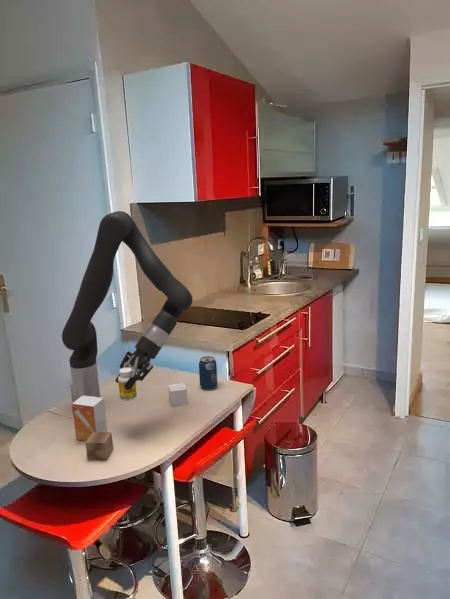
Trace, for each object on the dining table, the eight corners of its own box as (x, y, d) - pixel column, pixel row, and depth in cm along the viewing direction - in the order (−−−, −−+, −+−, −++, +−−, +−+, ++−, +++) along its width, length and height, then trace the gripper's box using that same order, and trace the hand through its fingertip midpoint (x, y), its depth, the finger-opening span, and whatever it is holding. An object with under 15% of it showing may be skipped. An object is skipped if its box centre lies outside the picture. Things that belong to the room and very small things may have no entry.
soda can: (217, 390, 187) (215, 361, 184) (199, 391, 187) (197, 362, 184) (217, 383, 194) (216, 355, 191) (200, 383, 194) (199, 355, 191)
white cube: (187, 404, 177) (186, 389, 175) (171, 406, 176) (170, 391, 174) (184, 397, 183) (184, 382, 181) (169, 399, 181) (168, 384, 180)
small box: (75, 440, 155) (71, 403, 152) (86, 430, 161) (82, 394, 158) (97, 443, 153) (93, 406, 149) (108, 433, 159) (104, 397, 155)
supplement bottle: (132, 392, 157) (130, 365, 155) (139, 398, 153) (137, 370, 151) (117, 396, 155) (114, 369, 152) (123, 403, 150) (121, 374, 148)
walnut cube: (87, 460, 144) (85, 442, 142) (94, 449, 150) (92, 432, 148) (106, 460, 143) (104, 443, 142) (113, 449, 149) (111, 432, 147)
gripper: (133, 330, 159) (103, 373, 155) (156, 340, 148) (124, 388, 144) (148, 341, 163) (119, 383, 159) (171, 352, 153) (141, 398, 148)
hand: (122, 385), depth 152 cm, fingers closed on supplement bottle, 5 cm apart
